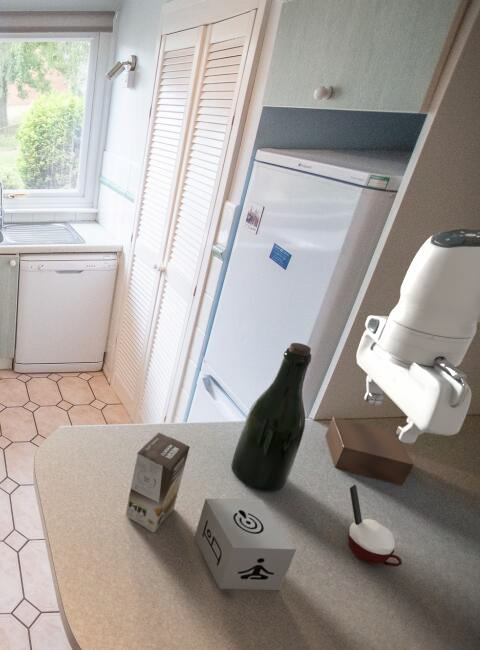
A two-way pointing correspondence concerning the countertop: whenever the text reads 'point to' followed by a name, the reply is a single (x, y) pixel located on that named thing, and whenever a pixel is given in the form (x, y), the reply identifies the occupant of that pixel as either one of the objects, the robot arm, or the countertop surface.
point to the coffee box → (156, 481)
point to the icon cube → (243, 544)
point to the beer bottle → (274, 426)
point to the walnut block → (368, 451)
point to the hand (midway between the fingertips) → (386, 420)
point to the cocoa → (370, 537)
